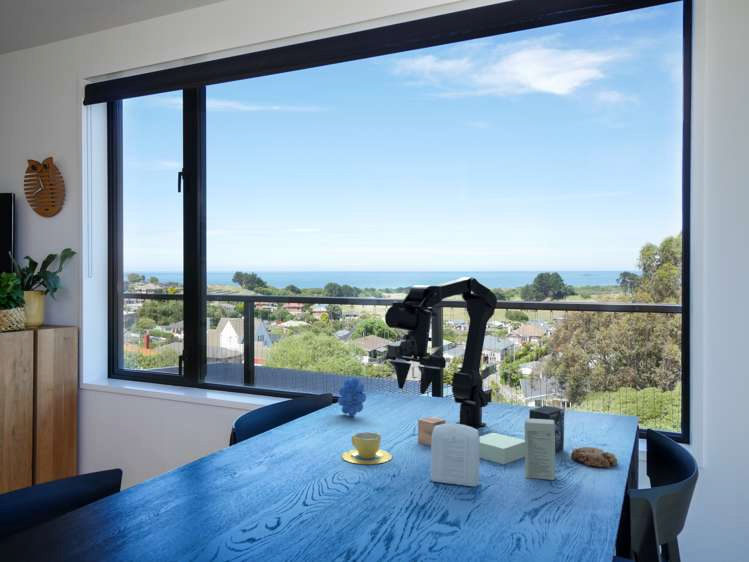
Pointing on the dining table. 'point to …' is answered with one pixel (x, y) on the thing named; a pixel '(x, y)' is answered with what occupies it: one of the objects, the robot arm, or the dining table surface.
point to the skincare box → (540, 449)
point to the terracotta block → (427, 429)
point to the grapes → (352, 396)
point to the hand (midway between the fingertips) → (411, 391)
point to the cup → (366, 449)
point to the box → (558, 418)
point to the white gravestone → (455, 454)
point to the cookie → (594, 457)
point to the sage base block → (501, 448)
